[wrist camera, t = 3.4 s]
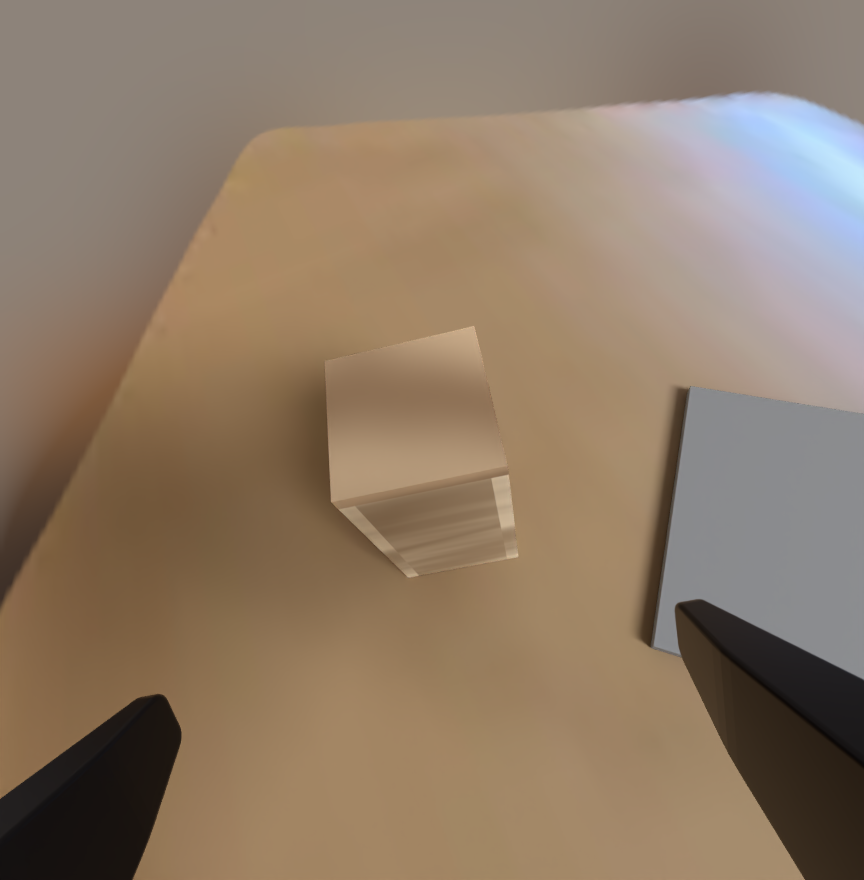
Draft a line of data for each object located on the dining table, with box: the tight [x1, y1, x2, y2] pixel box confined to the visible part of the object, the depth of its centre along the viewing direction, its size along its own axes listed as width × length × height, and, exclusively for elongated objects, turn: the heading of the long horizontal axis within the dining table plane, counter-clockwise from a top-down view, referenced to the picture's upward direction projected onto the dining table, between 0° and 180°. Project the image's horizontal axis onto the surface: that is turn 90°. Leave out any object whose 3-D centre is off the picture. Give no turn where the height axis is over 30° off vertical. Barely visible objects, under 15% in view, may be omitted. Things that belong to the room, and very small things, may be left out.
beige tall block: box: [325, 326, 518, 578], centre depth 19 cm, size 5×5×10 cm
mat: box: [651, 386, 864, 679], centre depth 20 cm, size 12×12×1 cm
